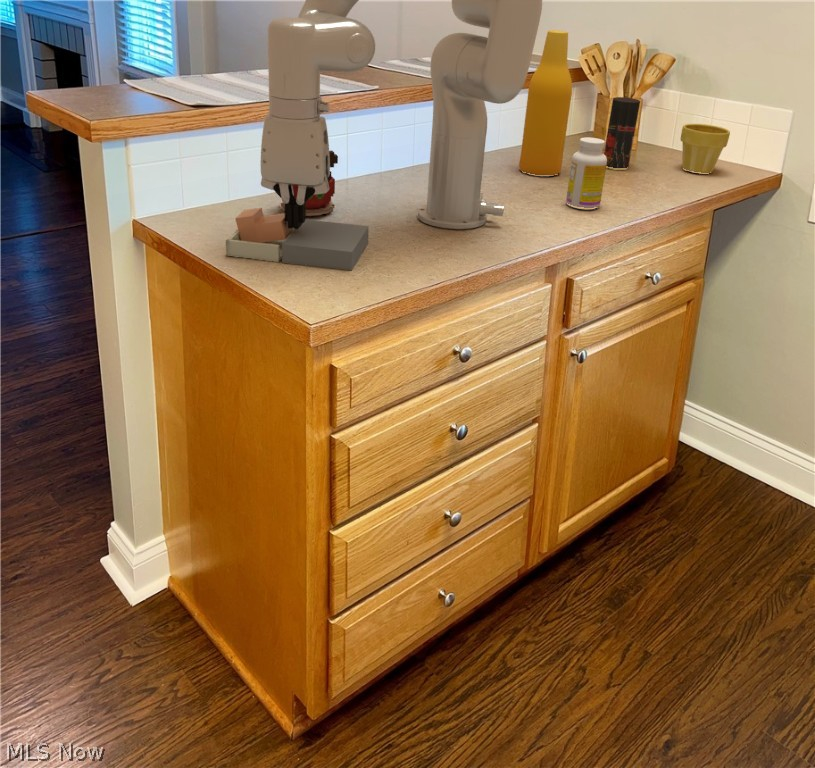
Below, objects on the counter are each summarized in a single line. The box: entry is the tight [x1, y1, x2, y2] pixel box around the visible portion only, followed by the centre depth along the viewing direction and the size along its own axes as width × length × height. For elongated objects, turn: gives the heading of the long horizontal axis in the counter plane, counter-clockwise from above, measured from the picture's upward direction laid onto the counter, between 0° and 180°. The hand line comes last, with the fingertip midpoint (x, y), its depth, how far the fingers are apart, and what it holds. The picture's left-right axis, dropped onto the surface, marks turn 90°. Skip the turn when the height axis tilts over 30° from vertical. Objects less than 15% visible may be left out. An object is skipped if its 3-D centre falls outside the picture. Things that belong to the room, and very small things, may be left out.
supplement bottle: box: [565, 136, 607, 208], centre depth 168 cm, size 7×7×13 cm
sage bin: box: [225, 228, 295, 263], centre depth 140 cm, size 8×13×3 cm, turn 171°
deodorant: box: [603, 96, 641, 168], centre depth 196 cm, size 6×6×15 cm
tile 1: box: [235, 207, 265, 243], centre depth 140 cm, size 4×4×3 cm
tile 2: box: [254, 212, 293, 243], centre depth 139 cm, size 4×4×3 cm
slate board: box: [281, 218, 370, 272], centre depth 139 cm, size 11×13×3 cm
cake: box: [280, 150, 339, 217], centre depth 154 cm, size 11×9×18 cm
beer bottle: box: [518, 29, 573, 175], centre depth 185 cm, size 9×9×29 cm
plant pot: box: [680, 123, 731, 173], centre depth 199 cm, size 10×10×10 cm
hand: (295, 226), depth 139 cm, fingers closed
